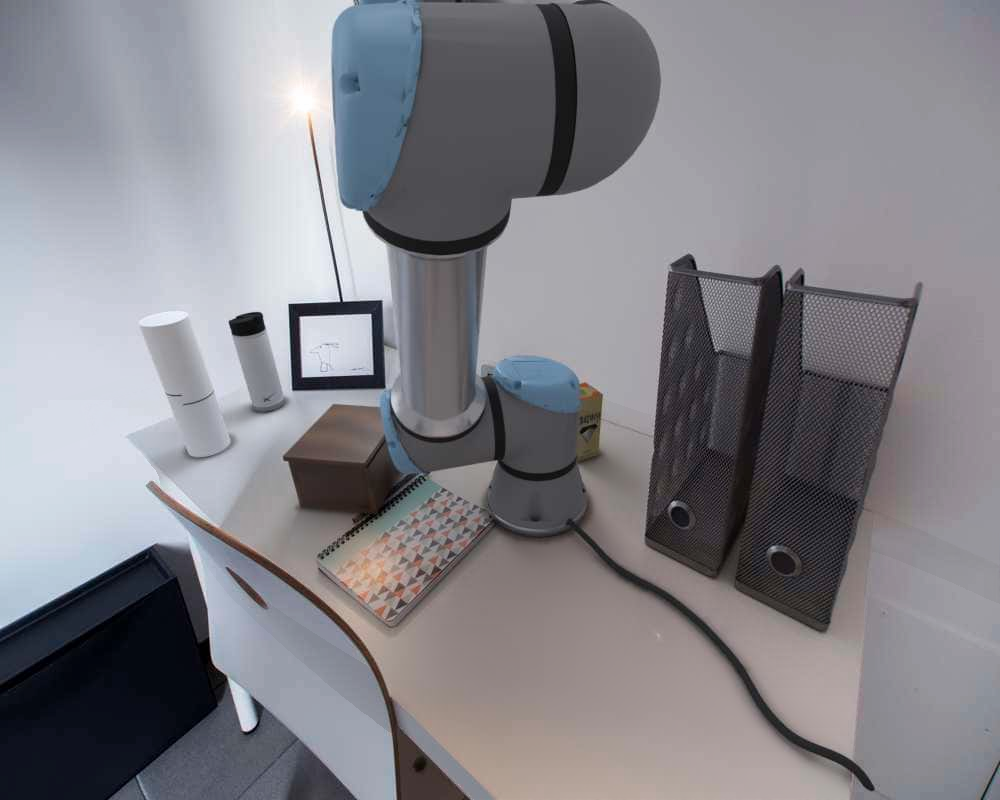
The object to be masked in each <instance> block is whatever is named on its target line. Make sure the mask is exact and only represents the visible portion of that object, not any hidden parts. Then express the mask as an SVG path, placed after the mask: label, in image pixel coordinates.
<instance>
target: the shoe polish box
mask: <svg viewBox="0 0 1000 800" xmlns="http://www.w3.org/2000/svg"><path fill="white" fill-rule="evenodd" d="M603 399H604V394H603V393H601V392H600V391H599V390H598V389H596V388H595V387H593V386H592V385H590V384H589V383H587V382H581V383H580V401H581V409H580V416H579V431H578V447H577V463H578V462H581V461H584V460H587V459H589V458H593V457H595V456H598V455H599V450H600V438H601V425H602V414H603V413H602V412H603V411H602V410H603Z"/></svg>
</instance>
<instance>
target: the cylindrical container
mask: <svg viewBox="0 0 1000 800" xmlns="http://www.w3.org/2000/svg"><path fill="white" fill-rule="evenodd" d="M138 326H139V328H140V331H141V333H142V336H143V339H144V342H145V345H146V347H147V349H148V352H149V354H150V357H151V360H152V363H153V364H154V368H155V370H156V372H157V375H158V378H159V381H160V383H161V385H162V388H163V391H164V393H165V396H166V399H167V401H168V403H169V406H170V409H171V411H172V414H173V417H174V419H175V423H176V425H177V428H178V430H179V433H180V436H181V438H182V441H183V442H184V446H185V448H186V450H187V453H188V455H189V456H190V457H194V458H207V457H210V456H214V455H217V454H220V453H221V452H223V451H225V450H226V449H227V448H228V447H229V446H230V444H231V438H230V437H231V436H230V435H229V432H228V429H227V426H226V423H225V420H224V417H223V414H222V411H221V408H220V405H219V401H218V399H217V395H216V392H215V390H214V387H213V384H212V381H211V378H210V375H209V371H208V368H207V366H206V363H205V360H204V357H203V354H202V351H201V348H200V344H199V342H198V339H197V335H196V332H195V330H194V326H193V324H192V320H191V317H190V315H189V313H188V312H187V311H184V310H169V311H162V312H158V313H154V314H151V315H147V316H145V317H143V318H141V319H140V320H139V321H138Z"/></svg>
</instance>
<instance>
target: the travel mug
mask: <svg viewBox="0 0 1000 800" xmlns="http://www.w3.org/2000/svg"><path fill="white" fill-rule="evenodd" d="M228 325H229V329H230V332H231V336H232V340H233V343H234V347H235V351H236V353H237V357H238V360H239V364H240V368H241V370H242V374H243V377H244V378H243V379H244V380H245V384H246V388H247V391H248V395H249V399H250V401H251V404H252V408H253V410H255V411H257V412H262V413H263V412H267V413H268V412H271V411H275V410H277V409H279V408H281V407H282V406H284V404H285V403H286V402H285V401H286V399H285V396H284V393H283V389H282V384H281V380H280V376H279V373H278V369H277V365H276V360H275V356H274V354H273V349H272V345H271V342H270V338H269V334H268V331H267V326H266V324H265V320H264V314H263V313H262V312H261V311H252V312H251V311H250V312H246V313H245V312H244V313H242V314H238V315H236V316H235V318H232V319H229V320H228Z"/></svg>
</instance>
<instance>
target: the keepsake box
mask: <svg viewBox="0 0 1000 800" xmlns="http://www.w3.org/2000/svg"><path fill="white" fill-rule="evenodd" d="M287 463H288V466H289V470H290V475H291V477H292V482H293V485H294V489H295V492H296V495H297V499H298V503H299V507H300V508H307V509H317V510H325V511H337V512H348V513H356V514H366V515H374V516H375V515H378V513H379V511H380V509H381V508H382V506H383V504H384V503H385V501H386V499H387V497H388V496H389V493H390V492H391V490H392V488H393V486H394V484H395V483H396V481H397V479H398V477H399V475H400V474H401V472H400V471H398V470H397V468H396V467H395V465H394V463H393V461H392V458H391V455H390V452H389V448H388V443H387V440H386V438H385V440H384V441H383V443H382V444H381V446H380V447H379V449H378V450H377V451H376V453H375V454H374V456H373V457H372V459H371V460H370V462H369V463H368V464H367V466H366V467H365V468H359V467H348V466H336V465H325V464H313V463H301V462H290V461H287Z"/></svg>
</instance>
